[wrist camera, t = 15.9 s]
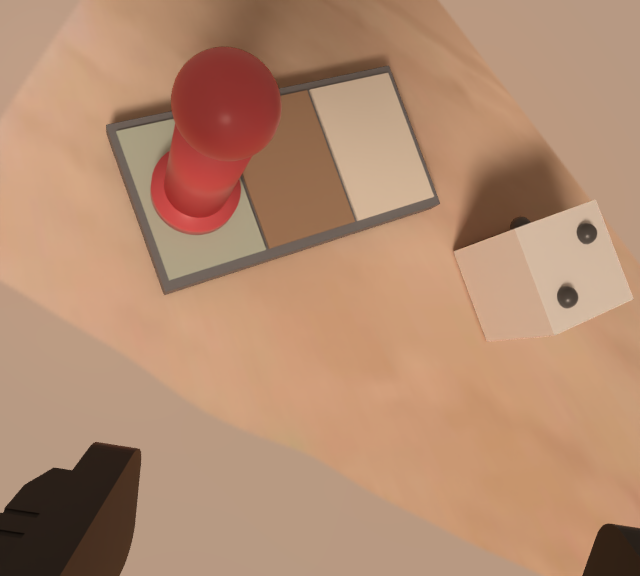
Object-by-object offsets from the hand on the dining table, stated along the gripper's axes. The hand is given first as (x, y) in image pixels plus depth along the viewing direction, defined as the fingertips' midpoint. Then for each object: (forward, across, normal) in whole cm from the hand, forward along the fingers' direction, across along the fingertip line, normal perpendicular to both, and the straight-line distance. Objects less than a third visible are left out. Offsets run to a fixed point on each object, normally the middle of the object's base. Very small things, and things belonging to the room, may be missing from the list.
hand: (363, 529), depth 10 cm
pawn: (+21, +8, -2) cm, 23 cm away
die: (+27, -11, +1) cm, 29 cm away
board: (+25, +4, -4) cm, 25 cm away
